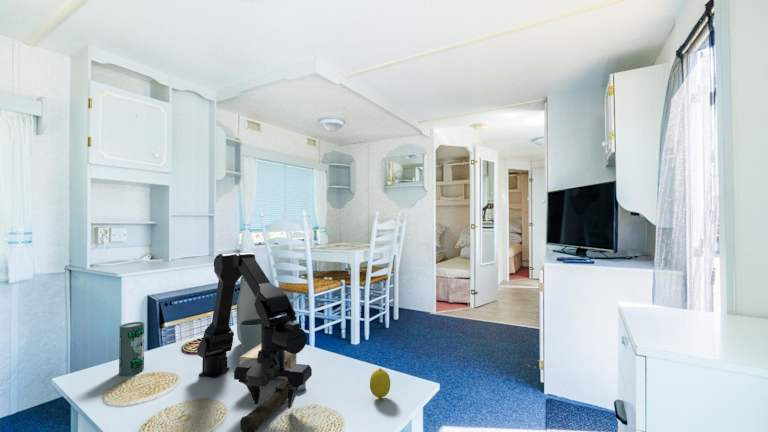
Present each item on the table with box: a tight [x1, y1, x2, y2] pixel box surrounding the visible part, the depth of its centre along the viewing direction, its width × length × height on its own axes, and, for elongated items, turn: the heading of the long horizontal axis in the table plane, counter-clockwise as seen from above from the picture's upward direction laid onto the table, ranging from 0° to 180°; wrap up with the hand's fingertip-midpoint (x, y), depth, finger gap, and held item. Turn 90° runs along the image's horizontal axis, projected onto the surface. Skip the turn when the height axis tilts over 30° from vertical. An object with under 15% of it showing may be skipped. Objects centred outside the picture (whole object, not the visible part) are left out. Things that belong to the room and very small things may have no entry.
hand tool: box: [239, 379, 289, 432], centre depth 85 cm, size 19×4×5 cm, turn 164°
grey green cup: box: [240, 318, 261, 356], centre depth 122 cm, size 10×10×12 cm
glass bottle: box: [236, 275, 260, 343], centre depth 134 cm, size 10×10×28 cm
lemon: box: [369, 368, 391, 400], centre depth 91 cm, size 6×6×8 cm
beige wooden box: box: [239, 344, 297, 380], centre depth 101 cm, size 11×13×10 cm
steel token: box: [297, 381, 307, 394], centre depth 97 cm, size 4×4×2 cm
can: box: [118, 321, 145, 377], centre depth 109 cm, size 6×6×15 cm
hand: (273, 406), depth 86 cm, fingers open, 9 cm apart
